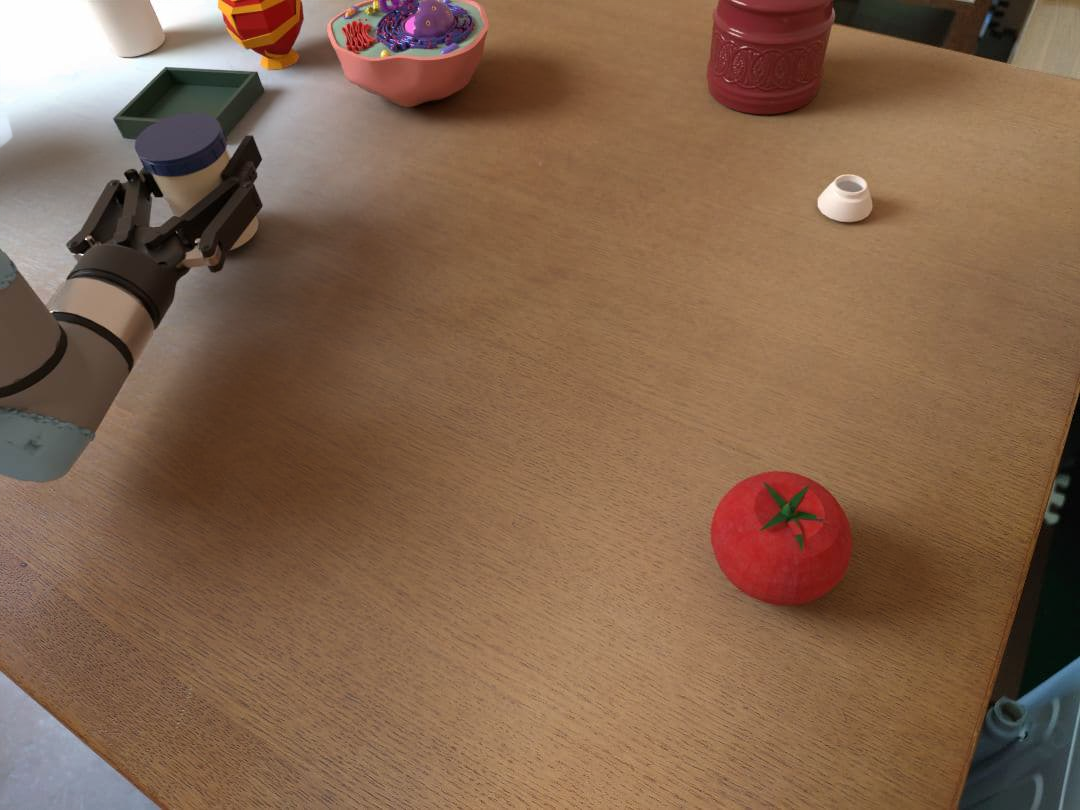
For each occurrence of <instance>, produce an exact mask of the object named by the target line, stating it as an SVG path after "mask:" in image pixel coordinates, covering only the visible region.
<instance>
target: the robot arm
mask: <svg viewBox="0 0 1080 810" xmlns="http://www.w3.org/2000/svg"><path fill="white" fill-rule="evenodd" d="M262 161H263V157H262V155H261V153H260V150H259V147H258V145H257V142H256V140H255V137H254V135H251V134H250V135H249V134H245V135H244V137H243V139H242V140H241V142H240V144H239V145H238V146H237V148H236V150H235V151H234V153H233V154H232V156H231V159H230V161H229V162H228V164H227V165H226V167H225V169H224V170H223V172H222V173H221V177H222V179H223V181H224V182H223V183H222V184H220V185H219V186H218V187H217V188H215V189H214V190H213V191H212V192H210V193H209V194H208V195H207V196H205V197H204V198H203V199H202V200H200V201H199V202H198V203H197V204H195V205H194V206H193V207H192V208H191V209H189V210H188V211H187V212H186V213H184V214H183V215H182V216H181V217H177V216H174V215H173V216H171V217H169V218H168V220H166V221H165V222H164V223H162V224H161V225H159V226H150V222H151V213H152V204H153V197H154V198H157V199H158V198H164V196H163V194H162V193H161V191H160V189H159V187H158V185H157V183H156V181H155V180H154V178H153V176H152V174H151V173H150V172H149V171H147V170H145V168H144V166H143V167H142V168H141V170H139V172H138V169H136V168H129V169H127V170H125V171H124V172H123V175H124V177H125V178H126V180H127V181H126V182H121V180H120V179H112V180H110V181H108V182H107V183H106V185H105V187H104V189H103V191H102V192H101V194H100V196H99V197H98V199H97V201H96V202H95V204H94V206H93V208H92V210H91V211H90V213H89V215H88V216H87V219H86V220H85V222H84V223H83V225H82V227H81V228H80V230H79V231H78V232H77V233H76V234H75V235H74V236H73V237H72V238H70V239H69V241H67V242H66V244H65V247H66V248H67V249H68V251H69V252H70V254H71V255H72V257H73V258H74V260H75V261H76V262H77V263H76V264H75V265H74V267H73V268H72V269H71V271H70V273H69V274H68V275H67V277H66V278H65V281H64V282H62V283H61V284H60V285H59V286H58V288H57V289H56V290H55V292H53V295H52V296H51V297H50V299H49V300H48V301H47V302H46V304H45V303H44V301H42V299H41V298H40V296H39V295H38V294H37V293H36V291H35V290H34V289H33V287H32V286H31V285H30V283H29V282H28V281H27V280H26V279H25V277H24V276H23V275H22V272H21V271H20V270H19V269H18V267H17V265H16V263H15V262H14V261H13V260H12V259H11V258H10V257H9V255H8V254H7V253H6V252H5V251H3V250H2V249H1V248H0V475H1V476H4V477H6V478H9V479H14V480H17V481H21V482H32V483H49V482H50V483H51V482H53V481H57V480H59V479H61V478H63V477H65V476H66V475H67V474H68V473H69V472H70V471H71V470H72V468H73V467H74V465H76V463H77V461H78V460H79V459H80V457H81V455H82V454H83V453H84V451H85V450H86V448H87V447H88V445H89V444H90V443H91V442H93V441H94V440H95V437H96V432H97V430H98V429H99V427H100V426H101V424H102V422H103V420H104V419H105V417H106V415H107V414H108V412H109V410H110V408H111V406H112V404H113V403H114V401H115V399H116V398H117V396H118V395H119V393H120V391H121V389H122V387H123V386H124V384H125V383H126V381H127V379H128V377H129V375H130V374H131V372H132V371H133V369H134V367H135V365H136V364H137V362H138V360H139V359H140V357H141V355H142V354H143V352H144V350H145V349H146V347H147V345H148V344H149V342H150V341H151V339H152V337H153V335H154V331H155V330H157V329H158V328H159V326H160V324H161V323H162V321H163V319H164V318H165V316H166V314H167V313H168V312H169V309H170V308H171V305H172V304H173V302H174V299H175V295H176V288H177V284H178V281H179V280H180V279H181V278H183V277H184V276H185V275H187V274H188V273H189V272H190V270H191V269H192V268H197V267H207V269H208V271H209V272H210V273H214V274H216V273H219V272H221V271H223V268H224V265H225V261H226V258H227V255H228V254H229V252H230V251H231V250H230V249H231V248H232V247H233V245H234V244H235V243H236V241H237V240H238V239H239V237H240V236H241V235H242V233H243V232H244V231H245V230H246V228H247V227H248V226H249V224H250V223H251V222H252V220H253V219H254V218H255V216H257V215H258V214H259V212H260V211H261V210H262V209H263V206H264V204H263V202H262V200H261V197H260V195H259V192H258V189H257V188H256V185H255V182H256V180H257V178H258V171H257V170H258V168H259V166H260V164H261V163H262ZM152 195H153V197H152Z"/></svg>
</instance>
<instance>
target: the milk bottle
mask: <svg viewBox="0 0 1080 810" xmlns="http://www.w3.org/2000/svg"><path fill="white" fill-rule="evenodd" d="M83 1H84V3H85V4H86V6H87V9H88V10H89V12H90V14H91V17H92V18H93V20H94V22H95V24H96V26H97V28H98V31H99V32H100V34H101V35H102V38H103V40H104V41H105V43H106V45H107V47H108V49H109V50H110V52H111V53H113V55H116V56H118V57H121V58H122V57H123V58H130V57H131V58H133V57H137V56H138V57H139V56H143V55H145V54H149V53H151V52H153V51H154V50H157V49H158V48H159V47H161V46H162V45H163V44H164V42H165V38H166V35H165V32H164V28H163V27H162V24H161V22H160V21H159V18H158V16H157V13H156V11H155V9H154V7H153V4H152V2H151V0H83Z"/></svg>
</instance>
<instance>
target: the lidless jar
mask: <svg viewBox="0 0 1080 810" xmlns="http://www.w3.org/2000/svg"><path fill="white" fill-rule="evenodd" d="M817 208H818V210H819V211H820V213H821V214H822V215H824V216H825V217H826V218H828V219H831V220H833V221H837V222H842V223H843V222H844V223H853V222H859V221H862V220H864V219H865V218H868V217H869V216H870V214H871V213H872V212H873V208H874V207H873V200H872V195H871V193H870V189H869V188H868V183H867V181H866V180H865V179H864V178H862V176H860V175H857V174H841V175H839V176H837V177H835V179H834V180H833V181H832V182H831V183H830V184H828V186H827V187H826V188H825V189H824V190H823V191H822V192H821V193H820V195H819V196H818V197H817Z"/></svg>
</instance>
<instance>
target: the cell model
mask: <svg viewBox="0 0 1080 810" xmlns="http://www.w3.org/2000/svg"><path fill="white" fill-rule="evenodd" d="M489 27H490V22H489V20H488V18H487V15H486V10H485V8H484V6H483V5H482V4H481V3H479V2H477V1H475V0H365V1H364V0H363V1H361V2H359V3H356V4H354V5H353V6H350V7H349V8H347V9H346V10H344V11H342V12H341V13H339V14H338V15H336V16H334V17H333V18H332V19H331V20H330V21H329V22H328V24H327V26H326V31H327V36H328V39H329V41H330V43H331V46H332V48H333V50H334V51H335V53H336V56H337V58H338V60H339V63H340V66H341V68H342V71H343V74H344V77H345V78H346V80H347V81H348V82H349V83H351V84H353V85H355V86H358V87H359V88H360V89H362V90H364V91H366V92H367V93H369V94H372V95H375V96H378V97H380V98H382V99H384V100H386V101H388V102H391V103H393V104H396V105H398V106H401V107H403V108H412V107H413V108H414V107H417V106H419V105H422V104H425V103H429V102H435V101H440V100H444V99H446V98H449V97H450V96H452V95H454V94H456V93H458V92H459V91H461V90H462V89H464V88H465V87H467V86H468V84H469V83H470V82H471V80H472V77H473V75H474V73H475V72H476V70H477V68H478V66H479V64H480V62H481V60H482V56H483V54H484V53H483V52H484V49H485V48H484V47H485V43H486V39H487V34H488V30H489Z"/></svg>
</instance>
